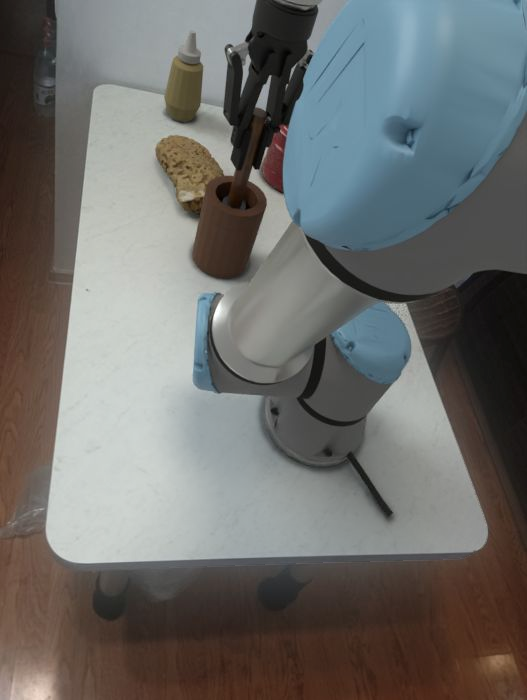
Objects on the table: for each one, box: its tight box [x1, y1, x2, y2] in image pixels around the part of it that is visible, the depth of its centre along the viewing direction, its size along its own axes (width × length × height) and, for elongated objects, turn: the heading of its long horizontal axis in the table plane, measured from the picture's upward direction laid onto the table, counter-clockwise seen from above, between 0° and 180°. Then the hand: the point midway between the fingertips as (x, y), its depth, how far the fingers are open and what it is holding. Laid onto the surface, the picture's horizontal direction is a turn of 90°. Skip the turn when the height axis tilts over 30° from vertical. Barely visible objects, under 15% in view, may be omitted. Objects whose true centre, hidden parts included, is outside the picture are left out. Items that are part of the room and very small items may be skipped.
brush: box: [222, 106, 267, 210], centre depth 84 cm, size 4×4×22 cm
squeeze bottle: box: [163, 30, 204, 123], centre depth 115 cm, size 8×8×18 cm
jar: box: [191, 175, 268, 279], centre depth 92 cm, size 10×10×14 cm
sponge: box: [154, 134, 225, 214], centre depth 104 cm, size 13×8×20 cm
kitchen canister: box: [261, 124, 289, 194], centre depth 111 cm, size 13×13×18 cm
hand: (244, 164), depth 82 cm, fingers closed on brush, 2 cm apart
